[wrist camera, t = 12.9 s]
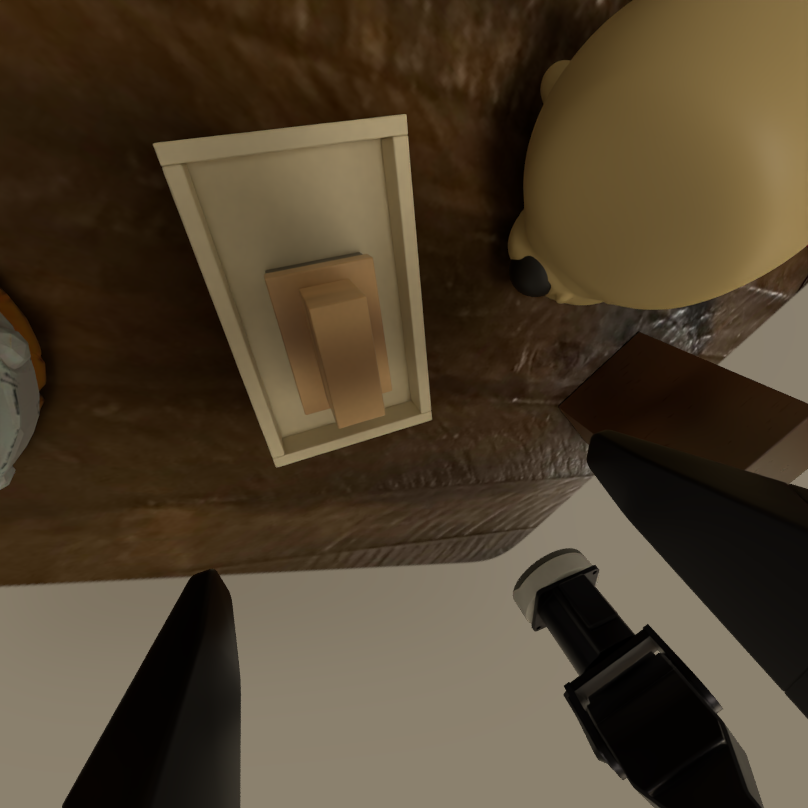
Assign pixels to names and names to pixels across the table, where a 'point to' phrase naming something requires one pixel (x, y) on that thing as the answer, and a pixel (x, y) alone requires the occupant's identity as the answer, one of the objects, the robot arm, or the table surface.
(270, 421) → the tray
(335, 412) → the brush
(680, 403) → the brown block
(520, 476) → the table surface
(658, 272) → the tan animal figurine
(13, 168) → the table surface
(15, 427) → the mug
